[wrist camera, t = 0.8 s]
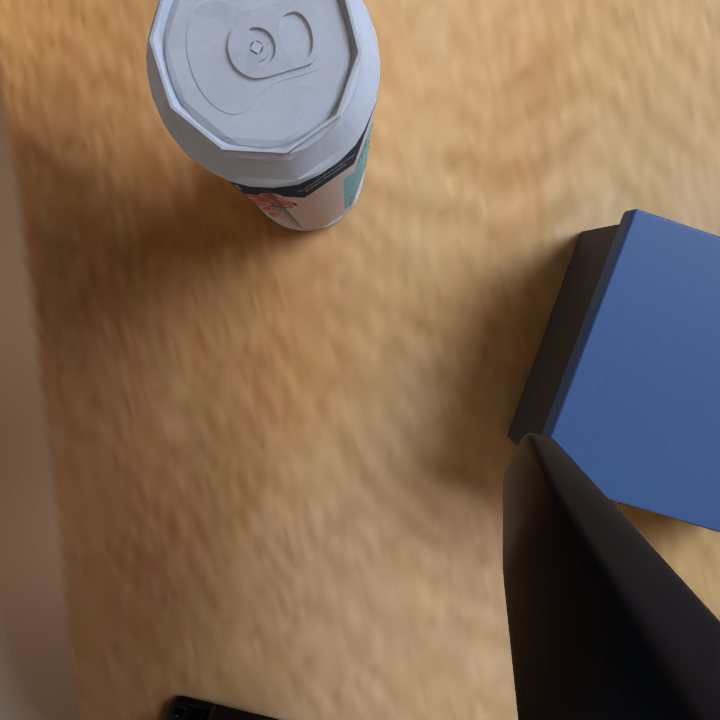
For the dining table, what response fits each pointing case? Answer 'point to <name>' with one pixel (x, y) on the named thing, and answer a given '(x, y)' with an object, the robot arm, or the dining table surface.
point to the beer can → (271, 98)
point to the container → (636, 367)
